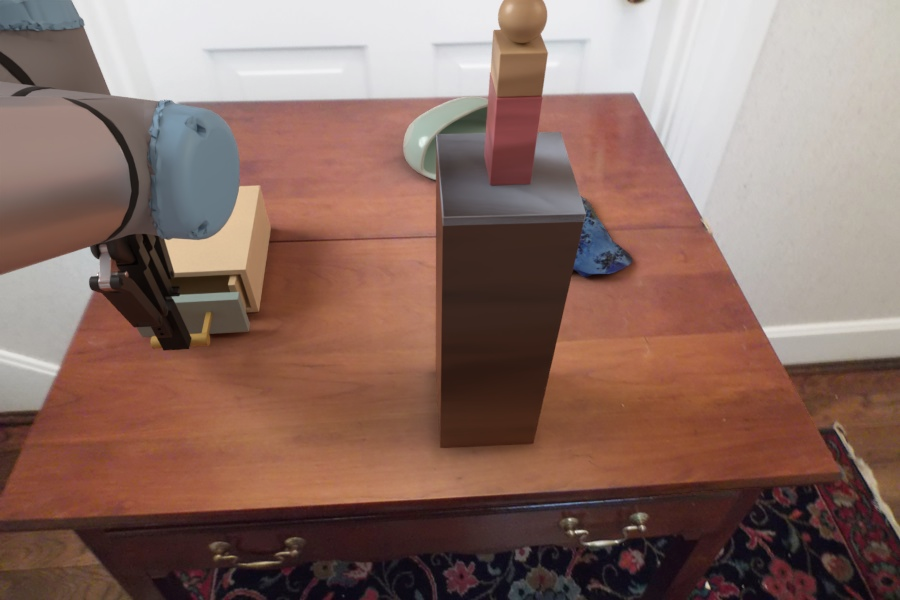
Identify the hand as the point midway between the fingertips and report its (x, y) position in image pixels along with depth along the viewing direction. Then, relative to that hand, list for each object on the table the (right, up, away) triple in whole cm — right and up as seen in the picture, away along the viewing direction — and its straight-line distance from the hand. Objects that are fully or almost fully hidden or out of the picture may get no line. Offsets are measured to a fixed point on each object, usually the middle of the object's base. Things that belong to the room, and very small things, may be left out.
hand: (177, 344), depth 70 cm
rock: (+46, +13, +20) cm, 52 cm away
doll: (+34, +14, -22) cm, 43 cm away
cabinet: (-2, +9, +15) cm, 17 cm away
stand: (+33, -7, +2) cm, 34 cm away
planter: (+31, +29, +34) cm, 54 cm away
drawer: (-1, +4, +10) cm, 11 cm away
